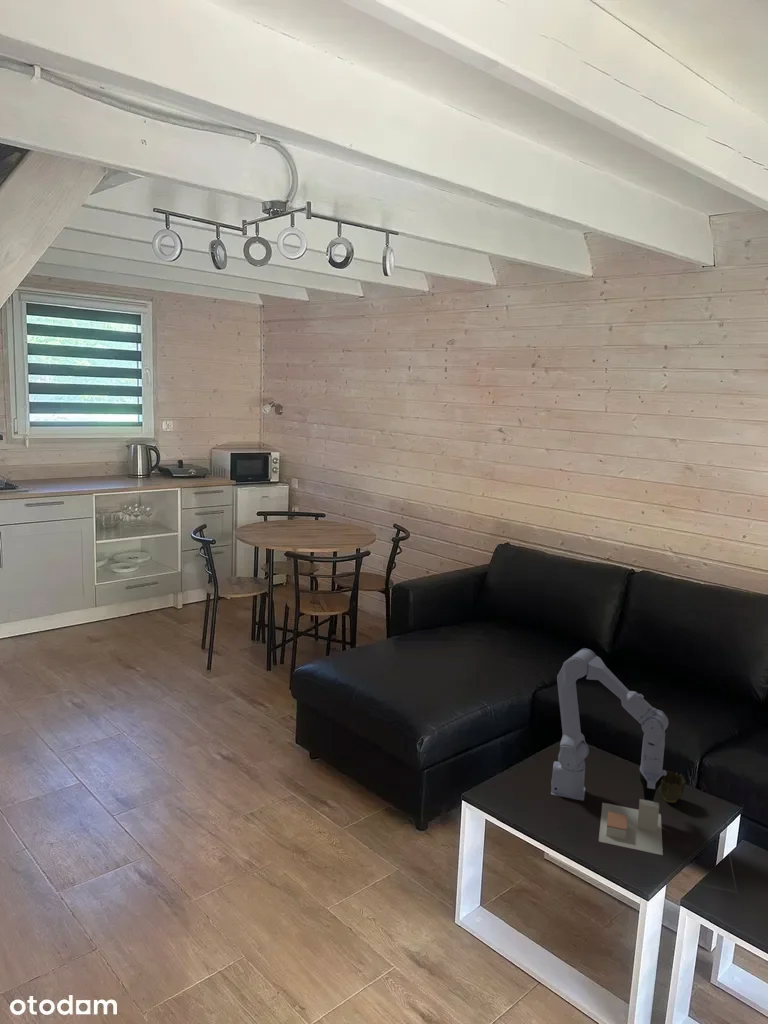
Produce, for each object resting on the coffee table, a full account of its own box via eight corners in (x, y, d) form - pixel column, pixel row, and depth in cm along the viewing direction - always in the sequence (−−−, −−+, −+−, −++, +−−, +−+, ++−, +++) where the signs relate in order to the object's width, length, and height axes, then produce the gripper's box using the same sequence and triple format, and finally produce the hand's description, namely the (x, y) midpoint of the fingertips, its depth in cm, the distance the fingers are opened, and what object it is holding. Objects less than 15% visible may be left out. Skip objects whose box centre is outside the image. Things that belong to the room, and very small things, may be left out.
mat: (598, 843, 192) (598, 841, 192) (602, 804, 211) (602, 802, 211) (662, 857, 187) (662, 855, 187) (660, 816, 206) (660, 814, 206)
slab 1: (607, 821, 201) (606, 835, 195) (608, 811, 201) (606, 825, 194) (626, 825, 200) (625, 839, 193) (626, 815, 199) (626, 829, 193)
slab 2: (637, 827, 199) (639, 804, 198) (637, 821, 202) (639, 798, 201) (656, 831, 197) (659, 808, 196) (656, 825, 200) (658, 802, 199)
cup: (685, 810, 209) (688, 784, 208) (658, 807, 210) (661, 781, 209) (680, 796, 216) (683, 772, 215) (654, 793, 218) (657, 768, 216)
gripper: (668, 769, 193) (664, 816, 195) (667, 745, 207) (663, 789, 209) (641, 764, 195) (637, 811, 198) (641, 741, 209) (637, 784, 211)
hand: (648, 799), depth 203 cm, fingers closed
